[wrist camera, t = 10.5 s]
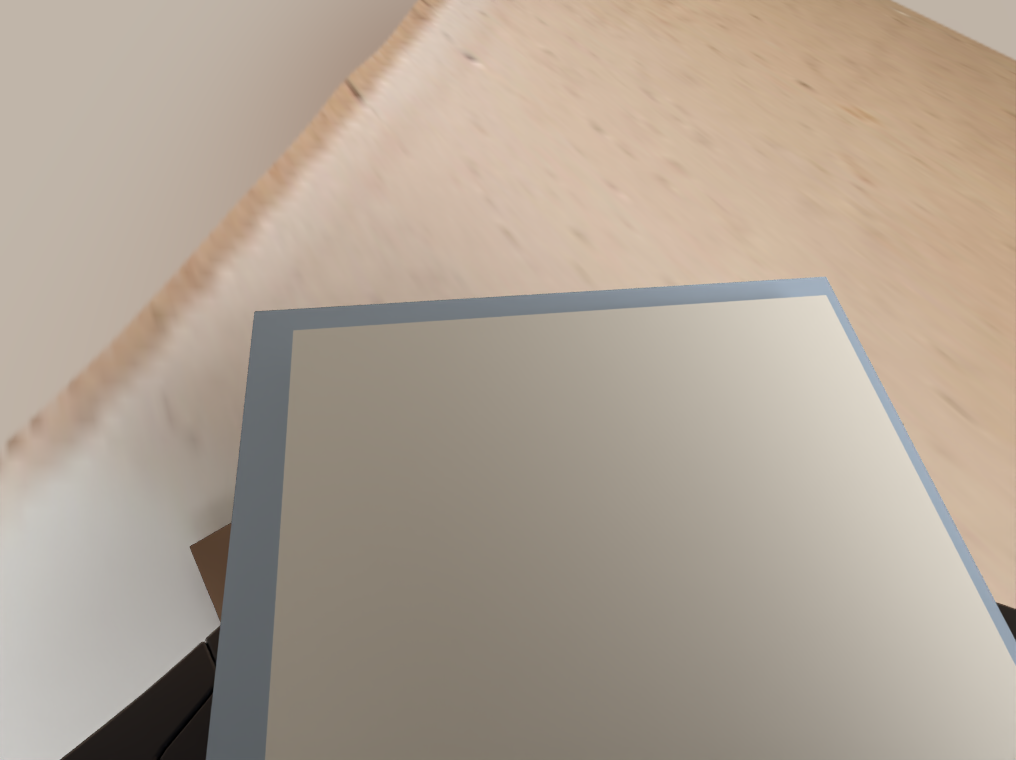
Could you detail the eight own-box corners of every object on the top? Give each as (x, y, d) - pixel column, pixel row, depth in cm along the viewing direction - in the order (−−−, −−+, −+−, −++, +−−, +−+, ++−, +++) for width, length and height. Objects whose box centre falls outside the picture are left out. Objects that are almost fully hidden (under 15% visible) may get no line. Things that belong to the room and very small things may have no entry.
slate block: (595, 673, 14) (1185, 858, 3) (413, 704, 13) (132, 1135, 2) (568, 527, 16) (847, 254, 4) (407, 547, 15) (239, 288, 4)
